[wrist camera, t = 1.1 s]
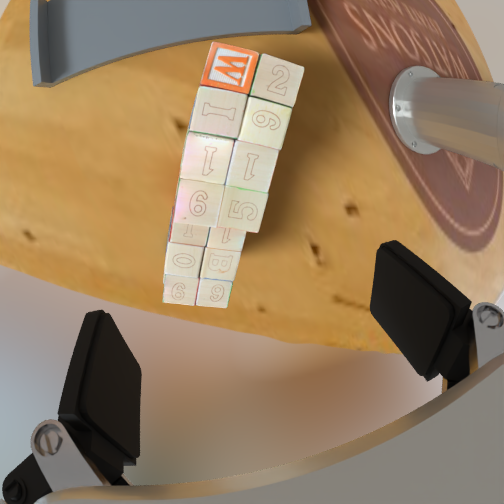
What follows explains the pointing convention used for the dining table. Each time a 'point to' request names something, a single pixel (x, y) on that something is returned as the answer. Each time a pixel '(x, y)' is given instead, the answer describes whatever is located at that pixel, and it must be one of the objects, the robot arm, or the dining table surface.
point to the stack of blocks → (226, 170)
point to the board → (143, 29)
